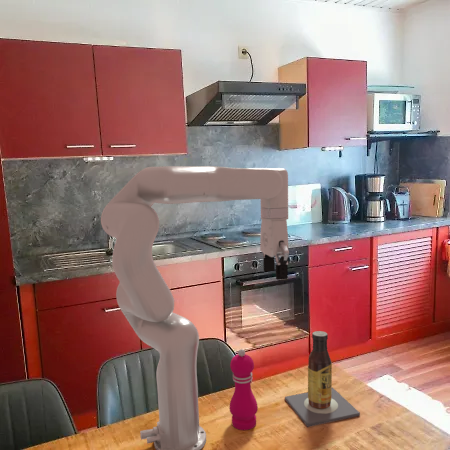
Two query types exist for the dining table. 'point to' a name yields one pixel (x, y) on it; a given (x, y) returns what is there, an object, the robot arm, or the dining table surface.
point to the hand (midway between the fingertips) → (275, 274)
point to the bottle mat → (320, 416)
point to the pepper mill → (243, 392)
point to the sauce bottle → (319, 372)
